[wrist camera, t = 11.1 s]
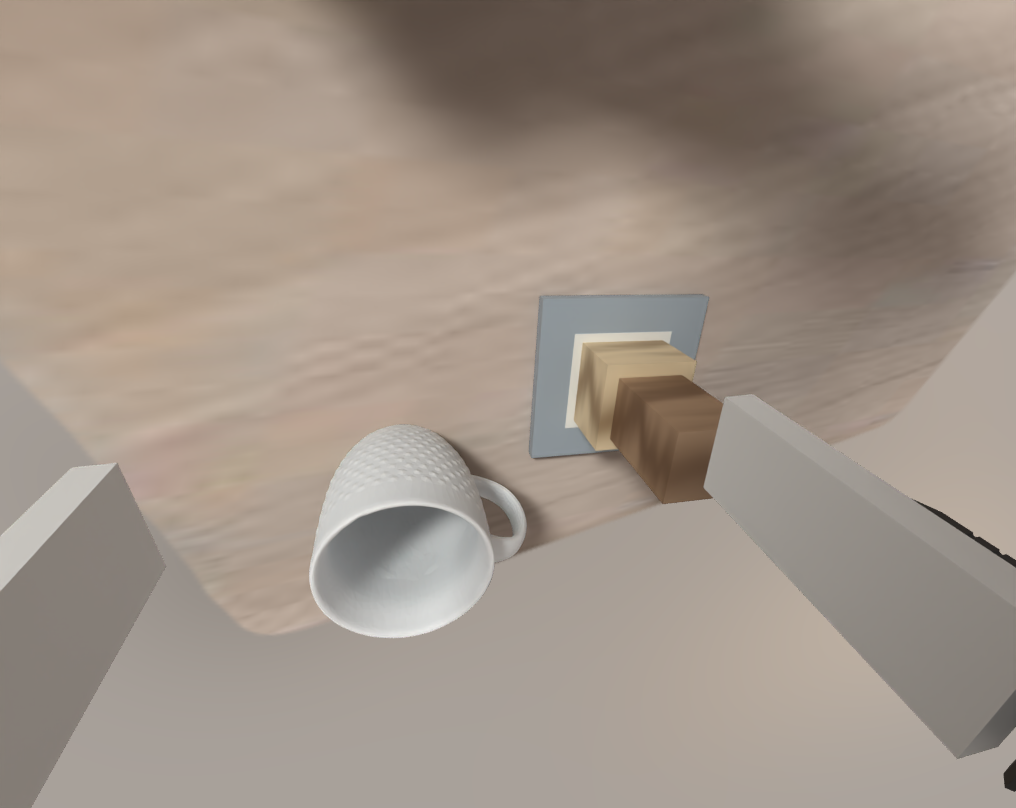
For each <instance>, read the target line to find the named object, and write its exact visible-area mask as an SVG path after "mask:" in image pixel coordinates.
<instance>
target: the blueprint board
mask: <svg viewBox="0 0 1016 808" xmlns="http://www.w3.org/2000/svg"><path fill="white" fill-rule="evenodd" d="M708 301H709V297H708V296H705V295H702V294H688V295H578V296H540V299H539V313H538V328H537V342H536V356H535V370H534V385H533V399H532V413H531V427H530V441H529V454H530V456H531V458H538V457H550V456H561V455H573V454H585V453H597V452H609V451H619V450H618V449H612V450H600V451H595V449H594V448H593V446H592V445H591V444H590V442H589V441H588V440H587V438H586V437H585V435H584V434H583V433H582V431H581V430H580V429H579V427H578V426H577V424H576V423H575V422H574V414H575V405H576V396H577V388H578V379H579V370H580V362H581V353H582V344H583V343H587V342H619V341H651V340H663V341H665V342H666V343H668V344H670V345H671V346H673V347H674V348H676V349H678V350H679V351H681V352H682V353H684V354H686V355H687V356H689V357H690V358H692V359H694V360H695V358H696V353H697V349H698V344H699V340H700V336H701V331H702V327H703V322H704V318H705V314H706V309H707V305H708Z"/></svg>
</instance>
